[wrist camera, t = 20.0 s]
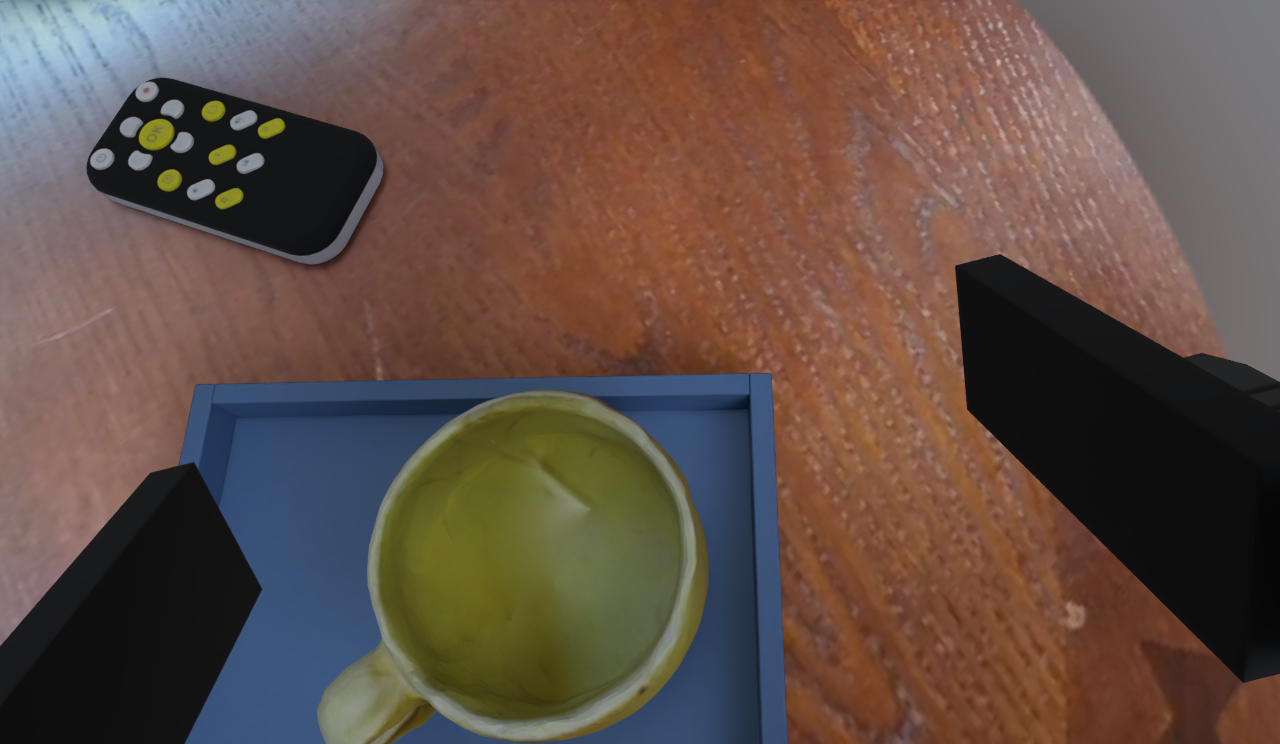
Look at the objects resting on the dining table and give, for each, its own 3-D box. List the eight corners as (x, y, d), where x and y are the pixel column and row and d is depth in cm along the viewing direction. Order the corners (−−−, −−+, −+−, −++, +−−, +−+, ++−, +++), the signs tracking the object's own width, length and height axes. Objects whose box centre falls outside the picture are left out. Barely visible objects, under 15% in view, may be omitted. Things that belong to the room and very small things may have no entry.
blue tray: (768, 393, 32) (771, 372, 30) (797, 1095, 25) (804, 1136, 22) (229, 403, 34) (194, 383, 32) (105, 1053, 27) (47, 1087, 24)
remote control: (335, 278, 36) (313, 255, 34) (95, 199, 38) (63, 174, 36) (399, 159, 37) (382, 131, 35) (166, 91, 40) (139, 62, 38)
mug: (635, 336, 30) (584, 329, 21) (775, 584, 30) (793, 698, 20) (356, 497, 32) (184, 562, 22) (488, 736, 32) (373, 912, 22)
